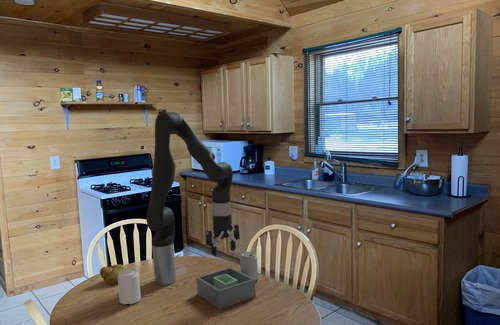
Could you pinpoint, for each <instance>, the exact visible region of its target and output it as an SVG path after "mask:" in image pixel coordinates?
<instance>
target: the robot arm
mask: <svg viewBox="0 0 500 325" xmlns="http://www.w3.org/2000/svg"><path fill="white" fill-rule="evenodd" d="M171 135H177V136H178V137H179V138H180V139H182V141H184V143H185V145H186V149H187V151H188V153H189V155H190V156H191V157H192V159H194V160H195V161H196V162H197V164H199V165H200V167H201V169H202V170H203V172H204V173H205V175H206V177H207V178H208V179H209V180H211V181H213V182H215V183H216V182H217V184H216V186H215V187H213V188H212V190H211V198H212V201H211V202H212V205H211V206H212V207H211V211H212V213H211V214H212V215H211V216H212V226H213V229H206V231H205V245H206V246H208V247H210V253H211V254H212V256H214V257H217V255H218V253H217V252H218V251H217V244H218V243H219V242H220V240H223V239H227V238H228V239H229V240H230V241H229V242H230V243H229V245H230V251H232V252H235V251H236V246H237V243H236V242H237V240H240V238H241V237H240V227H239V224H236V223H233V218H232V217H233V216H232V214H233V213H232V203H231V188H232V184H233V182H232V181H233V178H234V177H233V175H234V172H233V171H234V170H233V167H232V166H231V164H230V163H229V162H227V161H222V162H216V161H215V160H216V155H215V153H214V151H212V150H211V149H210V147H208V146H207V145H206V144H205V143H204V142H203V141H202V140H201V139H200V138H199V137H198V136H197V135H196V133H195V131H194V130H193V129H192V128H191V126H190V125H189V124H188V123H187V121H186V120H185V118H184V117H183V116H182V115H181V114H180V113H178V112H172V111H171V112H169V111H168V112H167V111H162V112H160V113H158V114H157V115H156V118H155V122H154V153H153V154H154V155H153V156H154V157H153V165H152V166H153V167H152V176H151V179H152V180H151V189H150V196H149V197H150V198H149V201H148V208H147V213H146V223H147V224H146V225H147V228H148V229H149V230H150V231H152V232H156V233H155V235H154V236H153V237H152V239H151V245H152V247H151V248H152V249H151V250H152V261H153V272H154V273H153V275H154V284H155V285H156V286H169V285H172V284H174V283H175V282H176V281H177V278H176V276H177V275H176V262H175V261H176V259H175V248H174V246H175V245H174V239H175V236H176V231H175V230H176V229H175V228H176V226H175V224H176V223H175V221H176V220H175V215H174V211H173V210H172V208H170V207H168V206H165V203H166V199H167V197H168V194H169V193H170V191H171V190H172V186H173V184H174V182H175V174H176V163H175V159H174V157H173V155H172V152H171V149H170V139H171ZM232 232H233V233H232Z"/></svg>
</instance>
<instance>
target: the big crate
mask: <svg viewBox="0 0 500 325" xmlns="http://www.w3.org/2000/svg"><path fill="white" fill-rule="evenodd" d="M224 274H227V275H229V276H231V277H233V278H235V279H237V280H238V284H236V285H233V286H230V287H227V288H224V289H221V290H219V289H217V288H216V287H214V282H213V278H214V277H217V276H220V275H224ZM196 291H197V292H196V293H197V295H198V296H200V297H201V298H202V299H204V300H206V301H207V302H209V303H210V304H212V305H213V306H214V307H216V308H217V309H219V310H222V309H224V308H227V307H230V306H233V305H235V304H238V303H241V302H244V301H247V300H249V299H251V298H255V297H256V296H257V295H256V281H255V279H253V278H251V277H249V276H247V275H245V274H243V273H241V271H239V270H237V269H235V268H233V267H228V268H224V269H223V268H222V269H220V270H218V271H214V272H210V273H207V274H203V275H200V276H197V277H196Z"/></svg>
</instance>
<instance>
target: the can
mask: <svg viewBox="0 0 500 325" xmlns="http://www.w3.org/2000/svg"><path fill="white" fill-rule="evenodd" d="M239 262H240V264H239V265H240V272H241V273H243V274H245V275H247V276H249V277H251V278H253V279H255V282H256V281H258V279H259V269H258V256H257V254H256V252H254V251H245V252H243V253H241V256H239Z"/></svg>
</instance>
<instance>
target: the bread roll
mask: <svg viewBox="0 0 500 325" xmlns="http://www.w3.org/2000/svg"><path fill="white" fill-rule="evenodd" d="M127 269H128V268H127V267H126V266H124V265H123V264H114V265H111V266H103V267H101V268H100V270H99V275H100V277H101V279H103V282H104V283H105V284H106V283H107V284H106V285H109V284H113V285H118V284H117V283H118V275H119V272H121V271H123V270H127Z"/></svg>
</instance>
